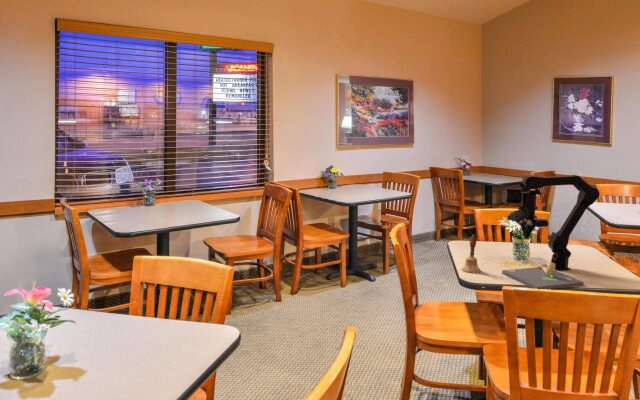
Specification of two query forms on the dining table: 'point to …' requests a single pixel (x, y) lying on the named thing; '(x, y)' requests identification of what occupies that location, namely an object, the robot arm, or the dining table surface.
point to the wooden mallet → (548, 268)
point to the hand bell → (471, 259)
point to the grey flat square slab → (542, 278)
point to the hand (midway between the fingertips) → (526, 238)
